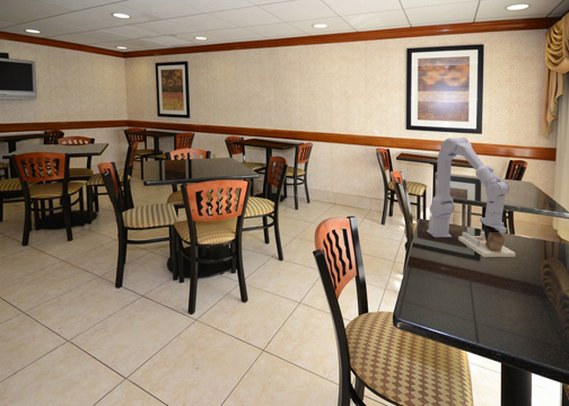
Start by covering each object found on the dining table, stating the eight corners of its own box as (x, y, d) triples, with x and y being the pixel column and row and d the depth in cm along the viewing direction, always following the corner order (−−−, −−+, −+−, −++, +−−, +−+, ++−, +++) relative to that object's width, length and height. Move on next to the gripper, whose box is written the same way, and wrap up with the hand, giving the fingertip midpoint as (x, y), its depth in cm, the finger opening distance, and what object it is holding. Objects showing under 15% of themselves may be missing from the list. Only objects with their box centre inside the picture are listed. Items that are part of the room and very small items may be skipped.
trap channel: (458, 239, 154) (459, 231, 153) (485, 239, 154) (486, 231, 153) (483, 257, 134) (484, 248, 134) (515, 256, 134) (516, 248, 134)
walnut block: (485, 244, 140) (489, 232, 137) (495, 244, 140) (499, 232, 137) (490, 250, 136) (494, 238, 134) (500, 250, 136) (505, 238, 134)
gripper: (516, 216, 130) (511, 251, 134) (493, 207, 145) (489, 238, 148) (497, 216, 130) (492, 251, 134) (476, 207, 145) (472, 238, 148)
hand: (489, 244), depth 141 cm, fingers closed
